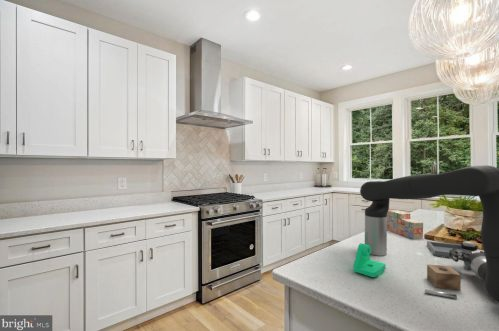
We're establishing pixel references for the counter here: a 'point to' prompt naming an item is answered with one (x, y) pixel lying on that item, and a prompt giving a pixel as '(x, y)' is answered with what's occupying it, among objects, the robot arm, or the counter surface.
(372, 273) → the camera mount
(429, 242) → the tray
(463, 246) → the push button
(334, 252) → the counter surface
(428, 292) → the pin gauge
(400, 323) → the counter surface
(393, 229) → the stack of blocks
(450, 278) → the block
